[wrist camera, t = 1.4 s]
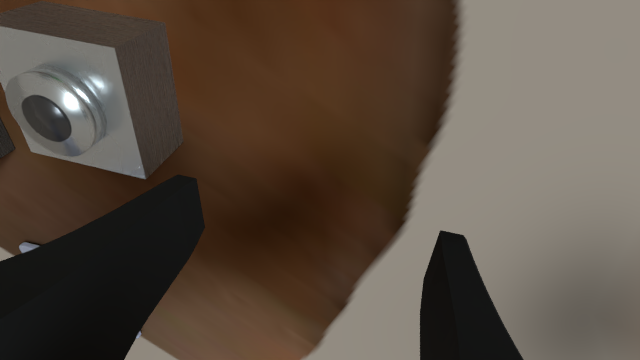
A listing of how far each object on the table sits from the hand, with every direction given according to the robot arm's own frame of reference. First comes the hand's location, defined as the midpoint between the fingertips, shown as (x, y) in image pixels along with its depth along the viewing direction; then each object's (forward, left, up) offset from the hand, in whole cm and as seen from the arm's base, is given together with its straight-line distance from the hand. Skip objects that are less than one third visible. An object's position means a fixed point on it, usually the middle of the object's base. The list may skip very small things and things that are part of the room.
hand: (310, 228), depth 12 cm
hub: (0, +12, -7) cm, 14 cm away
